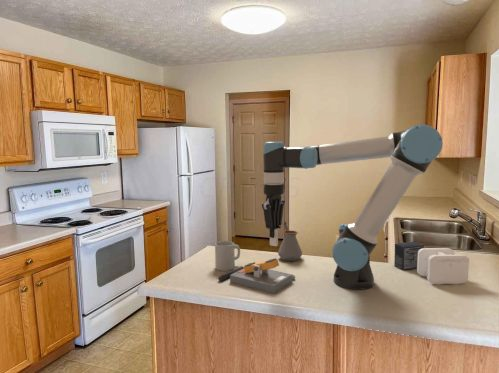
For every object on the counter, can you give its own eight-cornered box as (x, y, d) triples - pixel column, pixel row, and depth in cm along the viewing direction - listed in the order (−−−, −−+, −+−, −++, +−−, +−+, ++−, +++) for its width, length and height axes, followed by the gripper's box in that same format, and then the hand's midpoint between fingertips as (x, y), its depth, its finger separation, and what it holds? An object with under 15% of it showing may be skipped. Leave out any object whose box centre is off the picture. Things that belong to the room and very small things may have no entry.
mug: (221, 272, 154) (221, 247, 153) (212, 266, 161) (211, 242, 160) (245, 266, 161) (244, 242, 160) (234, 261, 168) (234, 238, 167)
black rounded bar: (244, 270, 156) (244, 266, 156) (221, 282, 143) (221, 277, 143) (241, 269, 157) (241, 265, 157) (217, 281, 144) (217, 276, 144)
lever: (279, 265, 140) (277, 257, 140) (273, 268, 136) (271, 260, 137) (251, 270, 148) (249, 263, 148) (245, 273, 144) (243, 265, 145)
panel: (292, 281, 143) (292, 263, 142) (273, 293, 131) (273, 274, 131) (250, 272, 154) (250, 254, 153) (230, 282, 143) (229, 263, 142)
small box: (413, 263, 163) (414, 240, 162) (424, 268, 157) (425, 244, 155) (393, 266, 160) (394, 242, 159) (403, 271, 154) (404, 246, 152)
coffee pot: (304, 262, 166) (305, 230, 165) (279, 263, 166) (279, 230, 164) (295, 248, 188) (295, 220, 186) (273, 249, 187) (273, 220, 185)
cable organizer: (452, 275, 148) (454, 247, 147) (468, 285, 138) (470, 255, 136) (416, 275, 148) (417, 248, 147) (429, 286, 137) (431, 256, 136)
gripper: (274, 181, 142) (274, 240, 145) (255, 184, 132) (255, 247, 135) (291, 182, 138) (290, 242, 141) (273, 185, 128) (273, 251, 130)
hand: (273, 245), depth 138 cm, fingers closed
